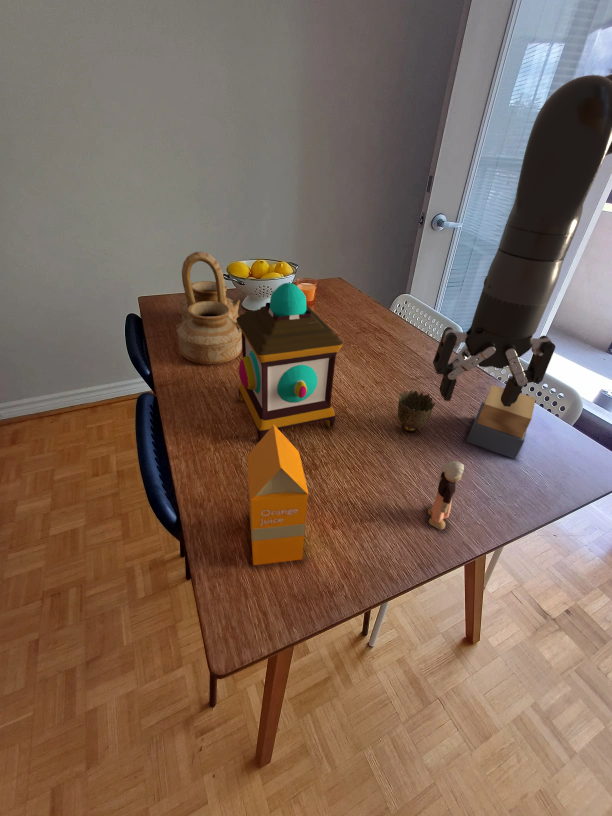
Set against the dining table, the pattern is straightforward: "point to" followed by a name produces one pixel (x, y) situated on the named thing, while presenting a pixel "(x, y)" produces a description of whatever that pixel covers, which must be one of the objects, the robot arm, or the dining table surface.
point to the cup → (414, 410)
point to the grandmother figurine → (445, 493)
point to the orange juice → (276, 500)
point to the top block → (507, 413)
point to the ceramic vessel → (208, 317)
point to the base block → (495, 439)
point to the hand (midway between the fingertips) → (475, 400)
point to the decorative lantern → (287, 363)
